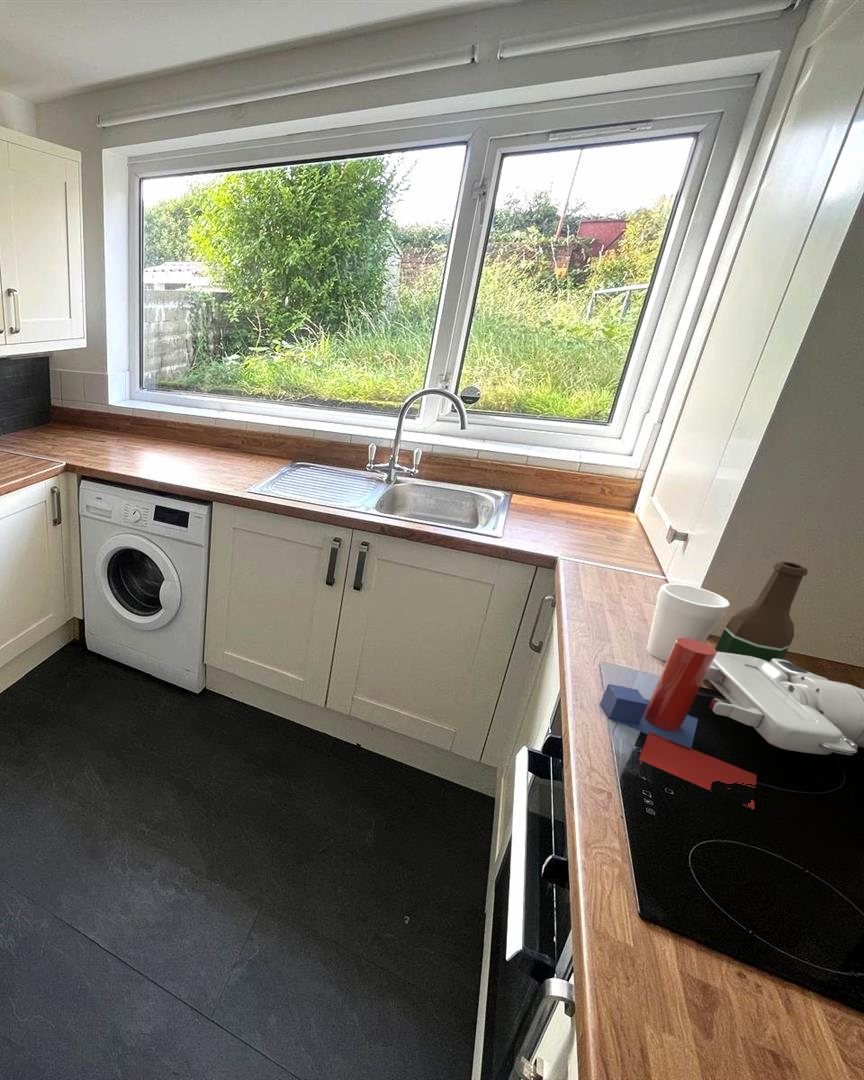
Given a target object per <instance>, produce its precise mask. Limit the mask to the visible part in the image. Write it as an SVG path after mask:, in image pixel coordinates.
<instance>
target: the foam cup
mask: <svg viewBox="0 0 864 1080" xmlns="http://www.w3.org/2000/svg"><path fill="white" fill-rule="evenodd" d="M655 604H656V605H655V609H654V614H653V618H652V622H651V627H650V631H649V632H650V633H649V635H648V636H649V637H648V642H647V647H646V650H647V652H648V654H650V655H651V656H652V657H654V658H656V659H658V660H660V661H663V662H665V663H666V662H667V660H668V657H669V655H670V653H671V651H672V648H673V646H674V644H675V642H676V640H677V639H678V638H689V639H694V640H697V641H700V642H703V643H705V642H706V640H707V639H708V638H709V636H710V635H711V634H712V633H713V630H714V629H715V628H716V626H717V625H718V623H719V622H720V621H721V619H722V618H724V617H726V614H727V612H728V610H729V607H730V605H731V604H730V602H729V600H728V599H726V598H725V597H723V596H722V595H720V594H718V593H715V592H713V591H711V590H708V589H705V588H702V587H698V586H694V585H691V584H684V583H683V584H682V583H678V582H677V583H676V582H675V583H674V582H673V583H672V582H671V583H669V582H668V583H664V584H662V585H660V588H659V590H658V593H657V594H656V603H655Z"/></svg>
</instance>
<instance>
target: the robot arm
mask: <svg viewBox="0 0 864 1080" xmlns="http://www.w3.org/2000/svg"><path fill="white" fill-rule="evenodd" d="M705 679H707V680H709V681H710V682H711V683H712V684H713V685H714V686H715V687H716V688H717V689H718V690H719V691H720V693H719V694H721V695H722V696H723V697H724V698H725V699H720V698H712V699H711V701H710V703H709V705H708V707H709V708H710V710H711V711H712V712H713V713H714V714H715V715H718V716H723V717H728V718H729V719H730V718H731V719H732V720H734V721H737V722H739V723H741V724H743V725H746V726H749V727H753V729H754V730H755V731H756V732H757V733H758V735H760V736H761V737H762V738H763V739H764V740H765V741H766V742H767V743H768V744H769V745H772V746H774V747H776V748H779V749H782V750H785V751H790V752H791V751H792V752H797V753H805V754H813V755H831V754H833V753H835V754H840V755H841V754H842V755H846V756H853V755H855V754H857V753H858V750H859V748H861V749H862V748H863V749H864V688H860V687H858V686H855V685H853V684H849V683H845V682H840V681H834V680H830V679H828V678H826V677H824V676H821V675H819V674H815V673H812V672H810V671H808V670H806V669H804V668H802V667H800V666H798V665H796V664H795V663H792V662H791V661H789V660H786V659H783V660H782V659H775V658H773V659H772V660H771V661H770V662H768V661H766V660H763V659H760V658H756V657H751V656H745V655H739V654H732V653H725V652H717V654H716V656H715V658H714V660H713V662H712V664H711V666H710V668H709V670H708V673H707V675H706V677H705Z"/></svg>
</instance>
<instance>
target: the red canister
mask: <svg viewBox="0 0 864 1080" xmlns="http://www.w3.org/2000/svg"><path fill="white" fill-rule="evenodd" d="M716 654H717V651H716V650H715V648H714V647H713V646H711V645H710V644H708V643H705V642H704V643H703V642H700V641H697V640H694V639H689V638H678V639H677V640H676V642H675V644H674V646H673V648H672V651H671V653H670V655H669V657H668V660H667V662H666V661H665V664H664V666H663V669H662V671H661V673H660V675H659V678H658V680H657V682H656V684H655V687H654V689H653V692H652V693H651V696H650V698H649V699H648V700H649V702H648V705H647V707H646V710H645V712H644V714H643V717H644V718H645V719H646V720H647V721H648V722H649V723H651V724H652V725H654V726H656V727H658V728H661V729H664V730H667V731H679V730H680V729H681V727H682V725H683V722H684V720H685V718H686V716H687V715H689V712H690V710H691V708H692V706H693V704H694V701H695V699H696V697H697V696H698V693H699V692H700V689H701V687H702V685H703V683H704V679H705V677H706V675H707V673H708V670H709V668H710V666H711V664H712V662H713V660H714V658H715V656H716Z"/></svg>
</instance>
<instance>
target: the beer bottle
mask: <svg viewBox="0 0 864 1080" xmlns="http://www.w3.org/2000/svg"><path fill="white" fill-rule="evenodd" d="M772 568H773V571H772V573H771V575H770V576H769V579H768V580H767V582H766V584H765V585H764V587H763V589H762V590H761V592H760V593H759V595H758V597H757V598H756V599H755V600H754V602H753V603H752V604H751V605H748V606H747V607H745V608H743V609H741V610H738V612H736V613H735V614H734V615H733V616H731V617H730V619H729V621H728V622H727V624H726V626H724V629H723V631H722V633H721V635H720V638H719V640H718V642H717V644H716V646H715V648H714V649H715V650H716V651H717V652H725V653H732V654H739V655H745V656H751V657H756V658H760V659H763V660H766V661H768V662H770V661H771V660H772V659H773V658H775V659H782V660H784V658H785V656H786V654H787V652H788V650H789V649H790V646H791V644H792V642H793V639H794V637H795V626H794V622H793V620H792V618H791V615H790V612H791V608H792V604H793V602H794V599H795V597H796V594H797V593H798V589H799V587H800V585H801V582H802V580H803V578H804V577H805V576H807V575H808V568H806V567H805V566H803V565H801V564H798V563H795V562H792V561H791V562H790V561H779V562H776V563H775V565H773V566H772ZM703 683H704V684H705V685H706V686H707V687H708V688H709V689H710V690H713V691H715V692H717V693H719V694H721V693H720V691H719V690H718V689H717V688H716V687H715V686H714V685H713V684H712V683H711V682H710V681H709V680H707V679H704V681H703Z"/></svg>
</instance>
